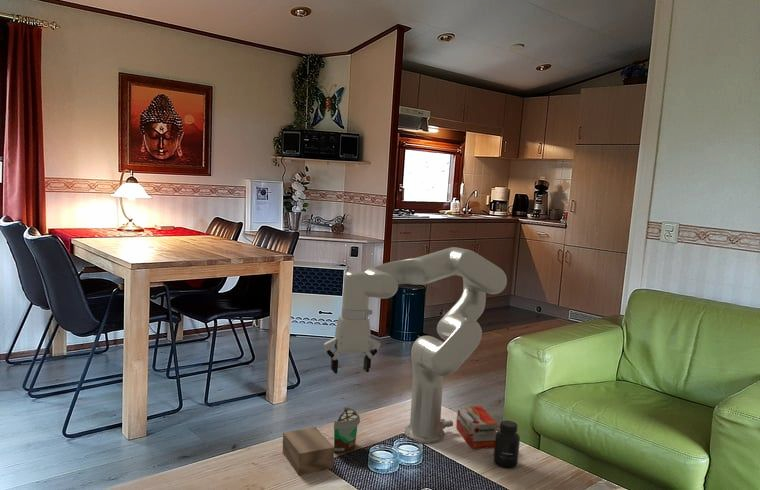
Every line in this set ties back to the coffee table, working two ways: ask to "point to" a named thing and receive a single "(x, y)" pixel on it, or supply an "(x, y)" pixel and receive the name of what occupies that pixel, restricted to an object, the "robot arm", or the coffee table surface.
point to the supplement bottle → (507, 445)
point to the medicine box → (476, 427)
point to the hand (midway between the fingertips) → (350, 371)
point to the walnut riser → (308, 450)
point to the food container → (346, 431)
